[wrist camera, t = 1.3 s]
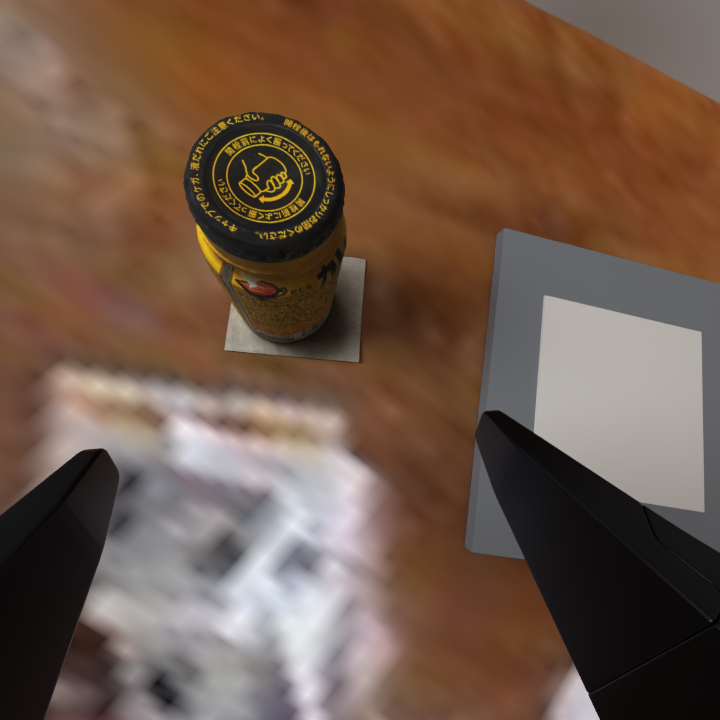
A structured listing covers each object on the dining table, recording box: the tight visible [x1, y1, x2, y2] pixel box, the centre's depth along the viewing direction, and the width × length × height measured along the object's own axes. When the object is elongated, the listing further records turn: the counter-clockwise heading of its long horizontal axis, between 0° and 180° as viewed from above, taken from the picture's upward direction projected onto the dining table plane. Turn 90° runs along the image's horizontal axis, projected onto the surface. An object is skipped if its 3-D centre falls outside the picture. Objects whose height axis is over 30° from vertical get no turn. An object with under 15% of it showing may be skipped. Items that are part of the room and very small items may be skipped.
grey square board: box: [465, 228, 720, 559], centre depth 25 cm, size 22×20×1 cm
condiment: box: [183, 112, 366, 362], centre depth 17 cm, size 7×8×12 cm
